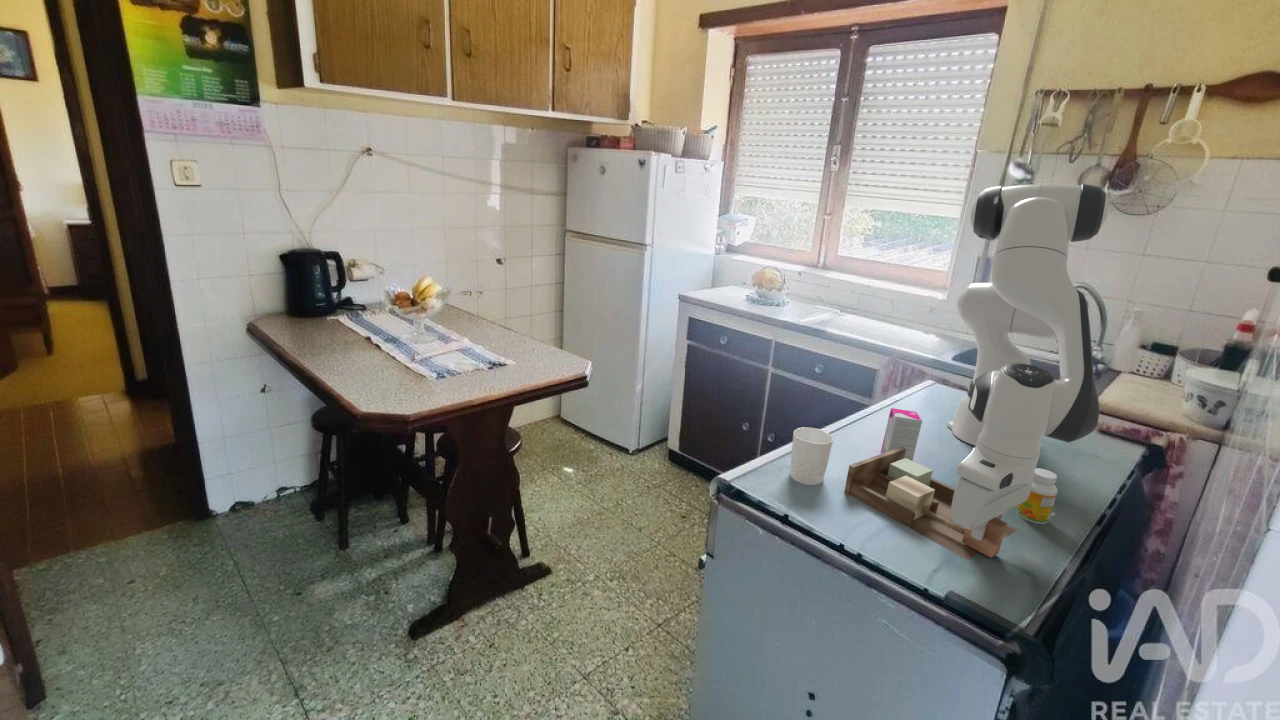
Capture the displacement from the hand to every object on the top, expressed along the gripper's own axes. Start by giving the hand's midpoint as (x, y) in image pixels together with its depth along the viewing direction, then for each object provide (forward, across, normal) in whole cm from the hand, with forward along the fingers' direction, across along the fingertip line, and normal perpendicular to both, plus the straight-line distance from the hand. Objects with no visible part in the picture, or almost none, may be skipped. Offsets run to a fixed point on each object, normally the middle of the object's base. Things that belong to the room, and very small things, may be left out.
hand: (983, 534), depth 102 cm
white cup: (+4, +7, -32) cm, 33 cm away
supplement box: (+4, -19, -28) cm, 34 cm away
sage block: (+3, -8, -19) cm, 21 cm away
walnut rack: (+3, -4, -12) cm, 13 cm away
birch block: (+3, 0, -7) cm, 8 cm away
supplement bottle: (+4, -21, -1) cm, 21 cm away
